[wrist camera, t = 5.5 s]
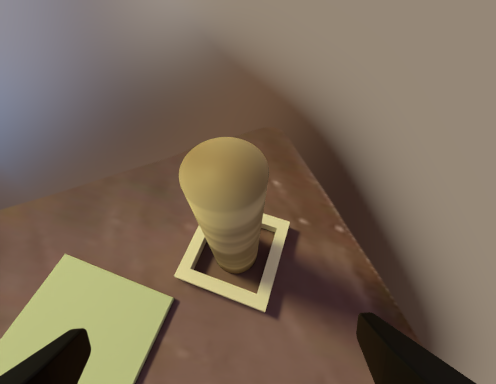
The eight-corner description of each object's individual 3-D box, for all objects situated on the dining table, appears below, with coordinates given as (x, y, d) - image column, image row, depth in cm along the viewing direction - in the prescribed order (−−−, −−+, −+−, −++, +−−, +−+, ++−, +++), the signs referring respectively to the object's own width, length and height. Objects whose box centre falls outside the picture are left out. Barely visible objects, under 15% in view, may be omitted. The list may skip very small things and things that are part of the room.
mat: (88, 482, 14) (83, 487, 14) (-43, 404, 16) (-51, 406, 16) (174, 298, 19) (172, 297, 19) (68, 255, 21) (65, 253, 21)
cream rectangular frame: (264, 312, 19) (265, 311, 18) (177, 278, 20) (173, 276, 19) (287, 226, 23) (289, 222, 22) (214, 202, 24) (212, 197, 23)
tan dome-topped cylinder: (249, 280, 20) (252, 223, 9) (207, 264, 21) (162, 194, 10) (262, 238, 22) (279, 149, 11) (224, 225, 23) (202, 129, 11)
